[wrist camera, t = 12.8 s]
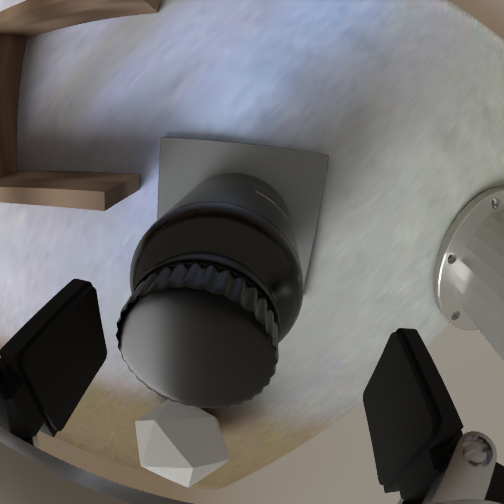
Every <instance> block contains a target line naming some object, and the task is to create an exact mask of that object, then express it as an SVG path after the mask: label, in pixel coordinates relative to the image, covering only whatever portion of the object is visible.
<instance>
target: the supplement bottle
mask: <svg viewBox="0 0 504 504" xmlns="http://www.w3.org/2000/svg"><path fill="white" fill-rule="evenodd" d="M130 288H131V294H132V295H131V297H130V298H129V300H128V301H127V302H126V304H125V305H124V307H123V308H122V310H121V315H120V318H119V319H118V321H117V328H118V331H117V333H116V337H117V340H118V342H119V343H118V348H119V350H120V351H121V353H122V359H123V360H124V361H125V362H126V363H127V364H128V367H129V370H130V371H132V372H133V373H134V374H135V375H136V377H137V379H138V380H140V381H141V382H143V383H144V384H145V385H146V386H147V387H148V388H149V389H151V390H153V391H155V392H156V393H157V394H159V395H160V396H162V397H166V398H168V399H169V400H171V401H173V402H178V403H181V404H183V405H186V406H195V407H198V408H212V409H215V408H219V407H225V408H227V407H229V406H232V405H239V404H241V403H242V402H244V401H247V400H251V399H252V398H253V397H254V395H256V394H259V393H261V392H262V390H263V388H264V387H265V386H267V385H268V384H269V383H270V378H271V377H272V376H273V375H274V374H275V371H276V364H277V362H278V343H279V342H280V341H281V340H282V339H283V338H284V337H285V336H286V335H287V334H288V333H289V331H290V330H291V328H292V327H293V325H294V323H295V322H296V320H297V317H298V315H299V312H300V309H301V306H302V301H303V290H304V288H303V275H302V269H301V264H300V259H299V254H298V249H297V244H296V240H295V235H294V231H293V226H292V221H291V218H290V214H289V211H288V209H287V206H286V204H285V202H284V201H283V199H282V198H281V196H280V195H279V194H278V192H277V191H276V190H275V189H274V188H273V187H271V186H270V185H269V184H268V183H266V182H264V181H263V180H261V179H259V178H257V177H254V176H251V175H248V174H242V173H226V174H221V175H217V176H214V177H212V178H209V179H207V180H206V181H204V182H202V183H201V184H199V185H198V186H197V187H195V188H194V189H193V190H192V191H191V192H189V193H188V194H187V195H186V196H185V197H183V198H182V199H181V200H180V201H179V202H178V203H176V204H175V205H174V206H173V207H172V208H171V209H170V210H168V211H167V212H166V213H165V214H164V215H163V216H162V217H160V218H159V219H158V220H157V221H156V222H155V223H154V224H153V225H152V226H151V227H150V228H149V229H148V231H147V232H146V233H145V235H144V236H143V237H142V239H141V240H140V242H139V244H138V246H137V248H136V250H135V252H134V255H133V258H132V263H131V268H130Z"/></svg>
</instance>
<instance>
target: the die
mask: <svg viewBox="0 0 504 504" xmlns="http://www.w3.org/2000/svg"><path fill="white" fill-rule="evenodd" d="M135 425H136V434H137V442H138V449H139V457H140V463H141V466H142V467H144V468H146V469H148V470H150V471H152V472H154V473H156V474H158V475H160V476H163V477H165V478H167V479H169V480H171V481H174V482H176V483H178V484H181V485H183V486H186V487H188V488H189V487H190V486H192V485H194V484H195V483H197V482H198V481H200V480H201V479H203V478H204V477H206V476H207V475H209V474H210V473H212V472H213V471H215V470H216V469H218V468H219V467H221V466H222V465H223V464H225V463H226V462H228V461H229V460H231V459H230V456H229V453H228V450H227V447H226V444H225V441H224V438H223V435H222V432H221V429H220V426H219V423H218V420H217V418H216V417H214V416H213V415H211V414H209V413H207V412H206V411H204V410H202V409H200V408H198V407H195V406H186V405H183V404H181V403H178V402H173V401H171V400H169V399H167V400H166V401H164V402H163V403H161V404H160V405H158V406H157V407H155V408H154V409H152V410H151V411H149V412H148V413H146V414H145V415H144V416H142V417H141V418H139V419H137V420H136V421H135Z"/></svg>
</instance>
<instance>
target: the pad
mask: <svg viewBox="0 0 504 504" xmlns="http://www.w3.org/2000/svg"><path fill="white" fill-rule="evenodd" d="M328 158H329V156H327V155H323V154H317V153H311V152H305V151H299V150H292V149H285V148H278V147H271V146H263V145H255V144H246V143H237V142H227V141H216V140H204V139H191V138H174V137H161V146H160V162H159V181H158V212H157V220H158V219H159V218H160V217H162V216H163V215H164V214H165V213H166V212H167V211H168V210H170V209H171V208H172V207H173V206H174V205H175V204H176V203H178V202H179V201H180V200H181V199H182V198H183V197H185V196H186V195H187V194H188V193H189V192H191V191H192V190H193V189H194V188H195V187H197V186H198V185H199V184H201V183H202V182H204V181H206V180H207V179H209V178H212V177H214V176H217V175H221V174H226V173H242V174H248V175H251V176H254V177H257V178H259V179H261V180H263V181H264V182H266V183H268V184H269V185H270V186H271V187H273V188H274V189H275V190H276V191H277V192H278V194H279V195H280V196H281V198H282V199H283V201H284V202H285V204H286V206H287V209H288V211H289V214H290V218H291V221H292V226H293V231H294V235H295V240H296V244H297V249H298V254H299V259H300V264H301V269H302V275H303V288H304V283H305V279H306V274H307V270H308V265H309V260H310V255H311V251H312V246H313V241H314V236H315V231H316V226H317V220H318V215H319V210H320V204H321V199H322V193H323V188H324V182H325V176H326V170H327V164H328Z"/></svg>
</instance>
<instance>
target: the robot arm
mask: <svg viewBox="0 0 504 504" xmlns="http://www.w3.org/2000/svg"><path fill="white" fill-rule="evenodd" d="M433 285H434V295H435V299H436V302H437V305H438V308H439V309H440V311H441V312H442V314H443V315H444V317H445V318H446V319H447V320H448V322H449V323H450V324H452V325H453V326H455V327H457V328H459V329H463V330H478V329H479V330H480V331H481V333H482V334H483V335H484V336H485V338H486V339H487V340H488V341H489V343H490V344H491V345H492V347H493V348H494V349H495V351H496V352H497V353H498V355H499V356H500V357H501V359H502V360H503V362H504V187H497V188H492V189H489V190H487V191H485V192H483V193H481V194H479V195H478V196H477V197H476V198H474V199H473V200H472V201H470V202H469V203H468V204H467V205H466V207H465V208H464V209H463V210H462V211H461V212H460V213H459V214H458V216H457V217H456V219H455V220H454V222H453V223H452V225H451V226H450V228H449V230H448V232H447V234H446V236H445V238H444V240H443V242H442V245H441V248H440V251H439V253H438V256H437V261H436V266H435V270H434V283H433ZM0 356H1V358H0V504H191V503H187V502H182V501H178V500H173V499H169V498H165V497H161V496H158V495H154V494H151V493H147V492H144V491H140V490H137V489H134V488H131V487H128V486H125V485H122V484H119V483H116V482H113V481H110V480H108V479H105V478H102V477H100V476H97V475H95V474H92V473H90V472H87V471H85V470H82V469H80V468H78V467H76V466H73V465H71V464H69V463H67V462H65V461H63V460H60V459H58V458H56V457H54V456H52V455H50V454H48V453H46V452H44V451H42V450H40V448H39V444H38V439H37V433H38V431H39V430H40V431H42V432H44V433H46V434H48V435H50V436H52V437H54V436H55V434H56V433H57V431H61V430H62V429H63V428H64V426H65V424H66V423H67V421H68V419H69V418H70V416H71V414H72V413H73V411H74V409H75V408H76V406H77V404H78V403H79V401H80V399H81V398H82V396H83V395H84V393H85V391H86V390H87V388H88V386H89V385H90V383H91V382H92V380H93V379H94V377H95V375H96V374H97V372H98V371H99V369H100V367H101V366H102V364H103V363H104V361H105V359H106V356H107V348H106V344H105V339H104V334H103V328H102V323H101V317H100V311H99V305H98V299H97V292H96V289H95V288H94V287H93V286H92V284H91V283H90V282H88V281H84V280H80V279H73V280H72V281H71V282H70V283H68V284H67V285H66V286H65V287H64V288H63V289H62V290H61V291H60V292H58V293H57V294H56V295H55V296H54V297H53V298H52V299H51V300H50V301H49V302H48V303H47V304H46V305H45V306H43V307H42V308H41V309H40V310H39V311H38V312H37V313H36V314H35V315H34V316H33V317H32V318H31V319H30V320H29V321H28V322H27V323H26V324H25V325H24V326H23V327H22V328H21V329H20V330H19V331H18V332H17V333H16V334H15V335H14V336H13V337H12V338H11V339H10V340H9V341H8V342H7V343H6V344H5V345H4V346H3V347H2V349H1V350H0ZM363 402H364V406H365V411H366V416H367V421H368V426H369V431H370V436H371V441H372V446H373V452H374V457H375V463H376V468H377V474H378V480H379V483H380V484H381V485H384V491H385V493H388V492H396V491H400V495H401V499H400V500H399V502H398V503H397V504H504V466H502V465H500V464H499V463H497V462H496V458H497V452H496V448H495V445H494V443H493V442H492V441H491V439H490V438H489V437H488V436H486V435H485V434H483V433H480V432H476V431H471V432H467V433H465V434H464V435H463V433H462V431H461V429H462V428H463V425H462V422H461V420H460V418H459V415H458V413H457V410H456V408H455V406H454V404H453V402H452V399H451V397H450V395H449V393H448V391H447V389H446V386H445V385H444V382H443V380H442V378H441V376H440V374H439V372H438V370H437V368H436V366H435V364H434V362H433V360H432V358H431V356H430V354H429V352H428V350H427V348H426V346H425V344H424V343H423V341H422V339H421V337H420V335H419V333H418V331H417V330H415V329H406V328H399V329H398V330H397V331H396V332H393V333H392V334H391V335H390V337H389V340H388V342H387V344H386V346H385V349H384V351H383V353H382V355H381V358H380V360H379V362H378V364H377V366H376V368H375V370H374V372H373V374H372V376H371V378H370V380H369V382H368V384H367V386H366V388H365V390H364V394H363Z"/></svg>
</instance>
